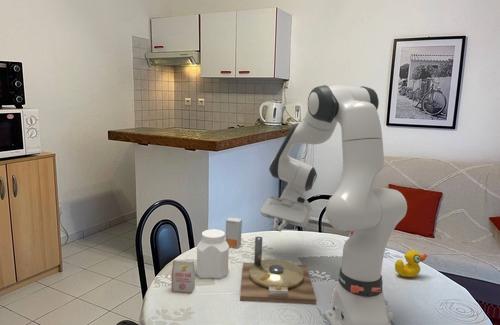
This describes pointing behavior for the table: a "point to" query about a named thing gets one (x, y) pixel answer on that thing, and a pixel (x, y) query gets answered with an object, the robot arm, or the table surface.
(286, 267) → the crank wheel
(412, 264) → the duckling
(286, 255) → the table surface
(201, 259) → the jar
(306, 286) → the wooden wheel stand
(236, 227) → the skincare box
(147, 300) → the table surface
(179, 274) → the small printed food carton
